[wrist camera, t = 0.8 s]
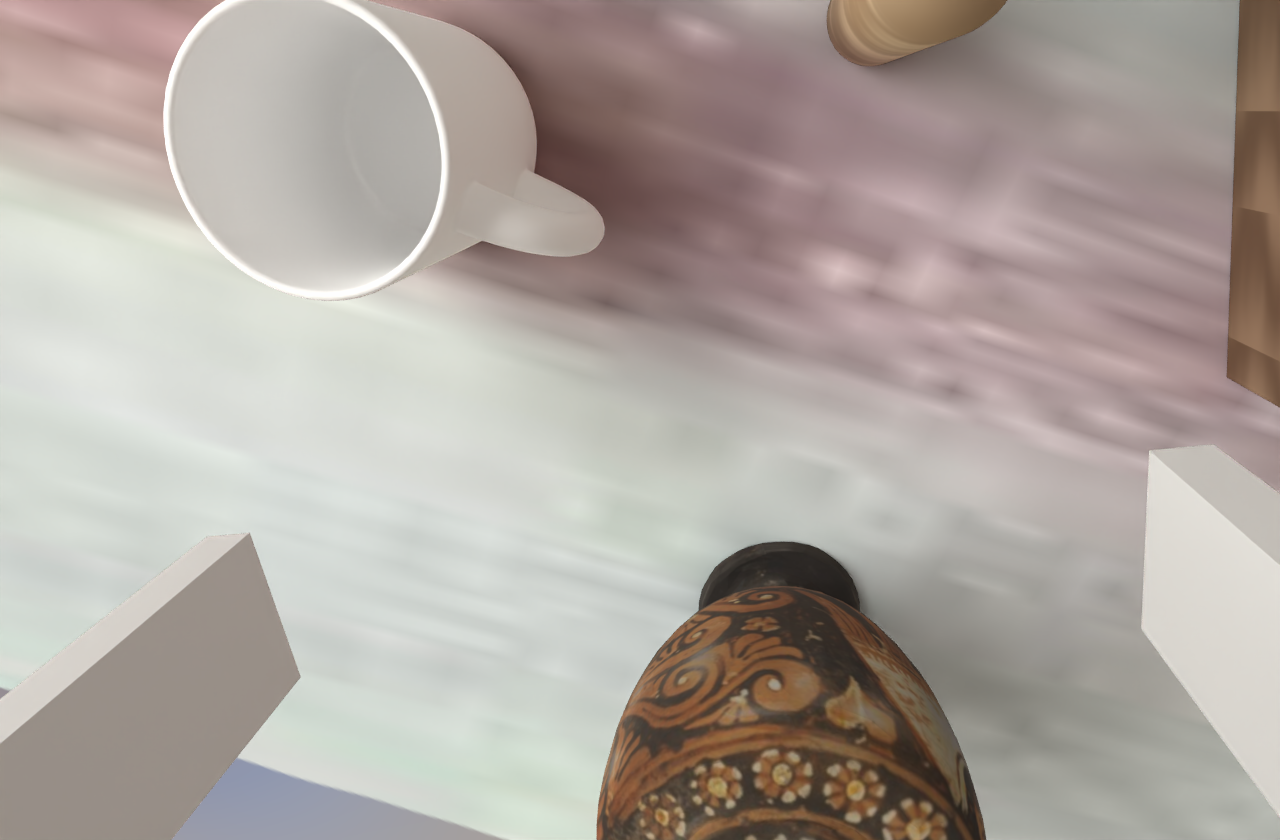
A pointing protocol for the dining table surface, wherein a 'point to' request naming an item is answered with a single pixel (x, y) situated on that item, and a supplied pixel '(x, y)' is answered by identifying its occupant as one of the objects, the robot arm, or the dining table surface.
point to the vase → (784, 721)
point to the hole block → (1256, 205)
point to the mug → (356, 146)
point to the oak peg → (901, 25)
